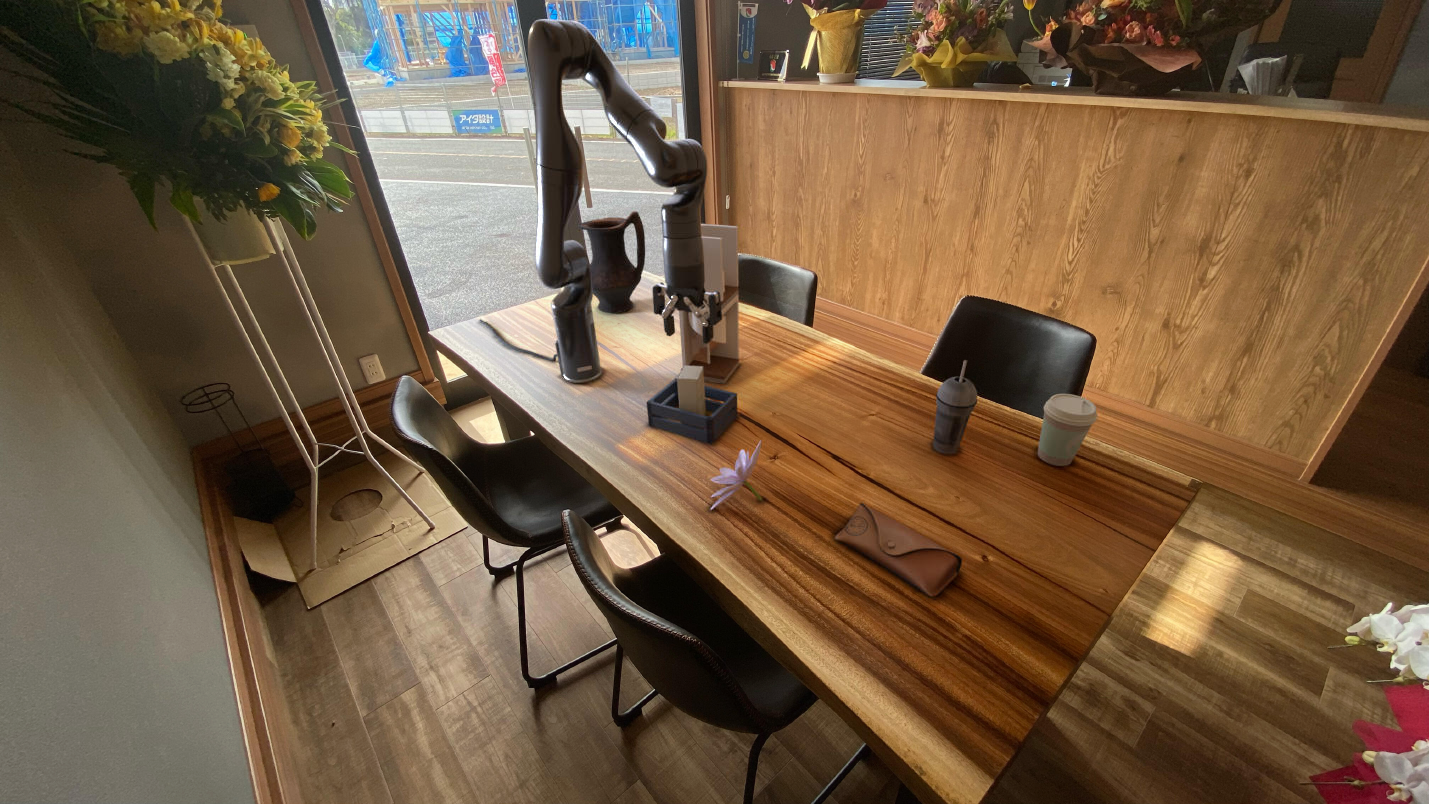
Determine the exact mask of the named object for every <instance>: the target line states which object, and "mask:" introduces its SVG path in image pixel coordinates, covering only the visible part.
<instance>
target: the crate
mask: <svg viewBox="0 0 1429 804" xmlns="http://www.w3.org/2000/svg"><path fill="white" fill-rule="evenodd" d="M677 378H678V377H675V378H674V379H673V380H671V381H670V382H669V383H668V384H667V385H666V386H664V387H662V389H660V390H659V391H658V392H657V393H656V394H654V395H653V396H652V397H650V399H648V400H647V401H646V412H647V419H648V426H649V427H653V428H655V429H659V430H662V431H666V432H669V433H673V434H676V435H679V436H683V437H685V438H689V439H692V440H696V441H700V442H703V443H707V444H709V445H713V444H714V443H715V441H717V439H718V438H720V436H721V435H722V434H723V433H724V432H725V431H726V430H727V428H729V426H730V425H731V424H732V423H734V421H735V420H736V419H737V418H738V392H732V391H729V390H725V389H721V388H717V387H712V386H710V385H705V384H704V389H705V405H706V412H710V413H712V414H711V415H708V416H707V415H706V416H703V415H699V414H696V413H692V412H689V411H685V410H681V409H680V408H677V407H676V406H677V405H679V395H678V384H677ZM681 422H683V423H687V424H690V425H694V426H697V427H701V428H697V427H694V426H690V425H687V424H683V423H681Z"/></svg>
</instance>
